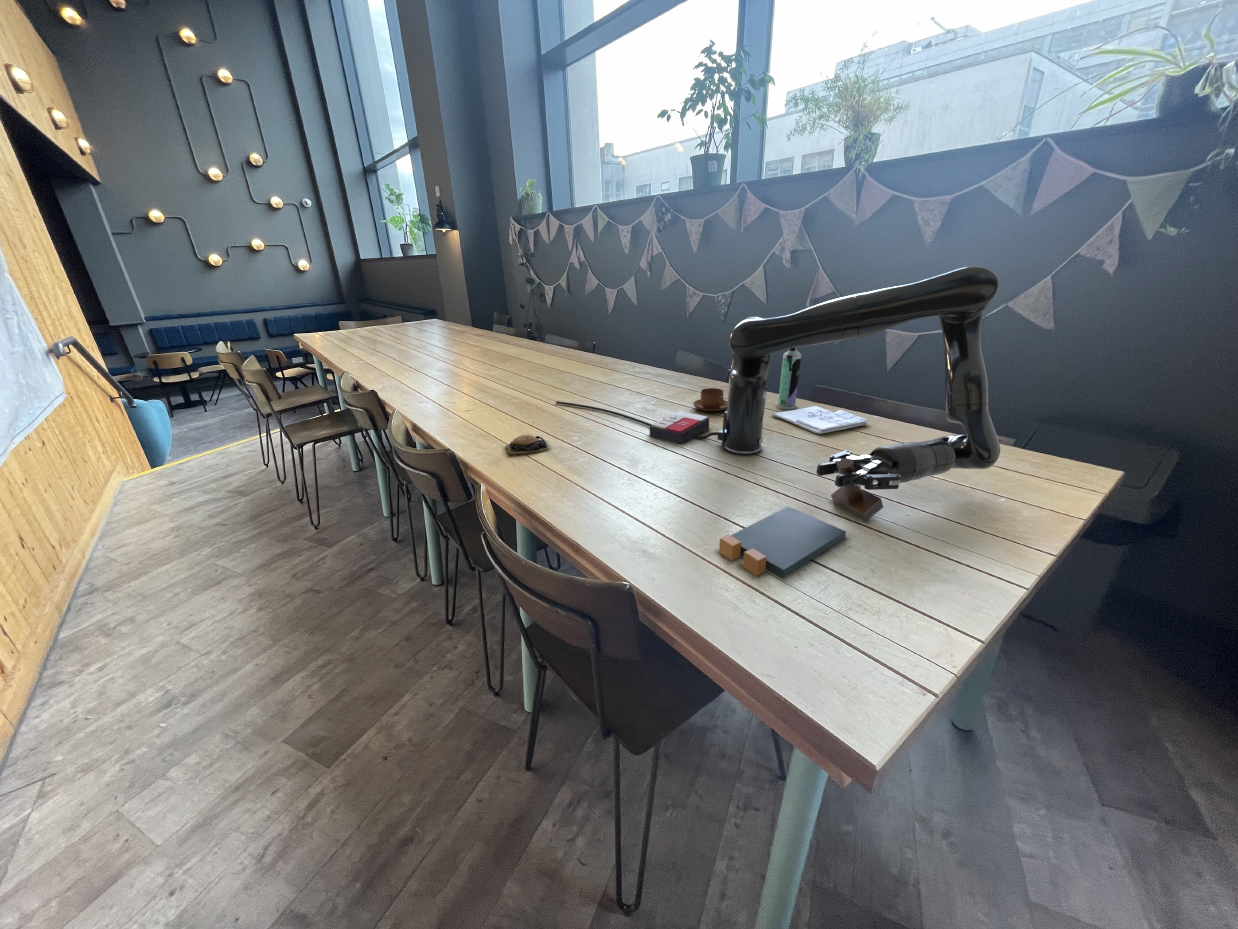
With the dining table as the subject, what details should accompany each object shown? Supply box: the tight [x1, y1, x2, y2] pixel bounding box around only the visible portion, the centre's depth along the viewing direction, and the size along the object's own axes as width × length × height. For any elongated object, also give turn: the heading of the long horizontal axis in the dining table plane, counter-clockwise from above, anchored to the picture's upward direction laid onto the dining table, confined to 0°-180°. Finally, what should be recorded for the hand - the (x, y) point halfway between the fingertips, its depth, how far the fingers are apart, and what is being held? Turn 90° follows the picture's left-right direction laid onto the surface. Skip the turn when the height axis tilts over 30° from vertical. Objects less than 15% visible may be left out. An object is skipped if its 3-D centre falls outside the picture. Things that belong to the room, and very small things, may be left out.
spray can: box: [777, 347, 802, 410], centre depth 153 cm, size 6×6×20 cm
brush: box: [830, 458, 884, 522], centre depth 89 cm, size 8×4×12 cm, turn 22°
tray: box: [729, 506, 847, 578], centre depth 83 cm, size 12×18×2 cm, turn 126°
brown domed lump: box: [506, 434, 549, 456], centre depth 128 cm, size 11×8×4 cm
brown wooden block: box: [718, 534, 741, 562], centre depth 79 cm, size 3×3×2 cm
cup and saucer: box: [693, 387, 728, 413], centre depth 156 cm, size 12×12×6 cm
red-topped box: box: [649, 410, 710, 445], centre depth 136 cm, size 11×4×15 cm
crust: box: [742, 548, 767, 577], centre depth 75 cm, size 3×3×2 cm
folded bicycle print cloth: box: [772, 405, 869, 435], centre depth 142 cm, size 19×20×2 cm
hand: (827, 475), depth 87 cm, fingers open, 4 cm apart
